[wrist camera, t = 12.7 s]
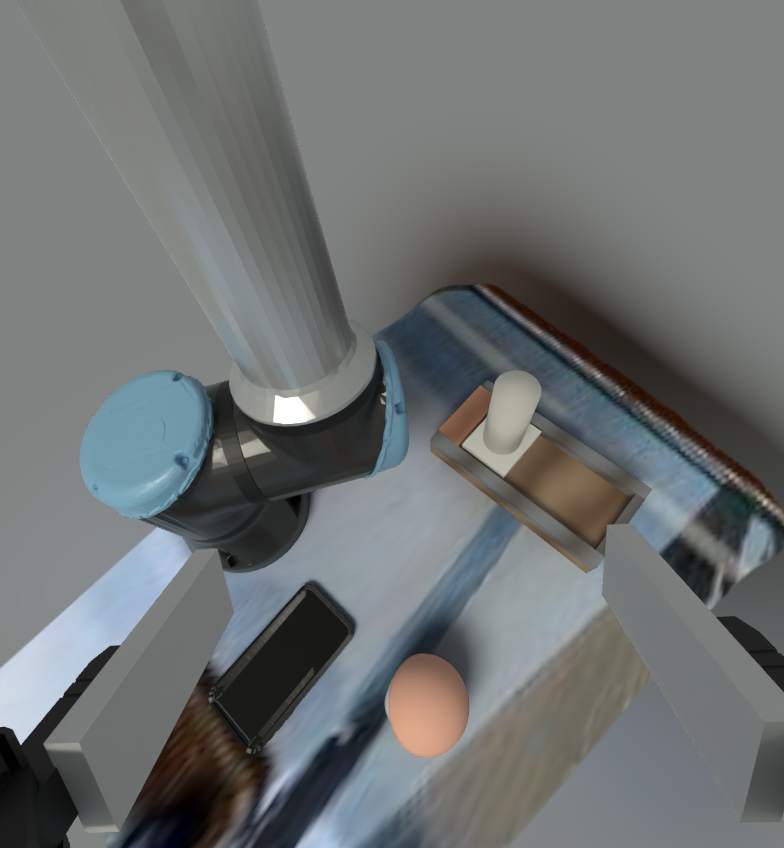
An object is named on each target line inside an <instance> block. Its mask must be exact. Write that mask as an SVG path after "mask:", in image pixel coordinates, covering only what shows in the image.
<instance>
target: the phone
mask: <svg viewBox="0 0 784 848" xmlns="http://www.w3.org/2000/svg"><path fill="white" fill-rule="evenodd" d="M353 636H354V627H353V625H352V624H351V622H350V621H349V620H348V619H347V618H346V617H345V616H344V615H343V614H342V613H341V612H340V611H339V610H338V609H337V608H336V607H335V606H334V605H333V604H332V603H331V602H330V601H329V600H328V599H327V598H326V597H325V596H324V595H323V594H322V593H321V592H320V591H319V590H318V589H317V588H316V587H315V586H313V585H305V586H303V587H302V588H301V589H300V590H299V591H298V592H297V593H296V594H295V595H294V596H293V598H292V599H291V600H290V601H289V602H288V603H287V604H286V605H285V606H284V608H283V609H282V610H281V611H280V612H279V613H278V614H277V615H276V617H275V618H274V619H273V620H272V621H271V622H270V623H269V624H268V626H267V627H266V628H265V629H264V630H263V631H262V632H261V633H260V634H259V636H258V637H257V638H256V639H255V640H254V641H253V642H252V643H251V645H250V646H249V647H248V648H247V649H246V650H245V651H244V652H243V653H242V655H241V656H240V657H239V658H238V659H237V660H236V661H235V662H234V664H233V665H232V666H231V667H230V668H229V669H228V670H227V671H226V672H225V674H224V675H223V676H222V677H221V678H220V679H219V680H218V681H217V683H216V684H215V685H214V686H213V687H212V689H211V690H210V693H209V703H210V705H211V706H212V707H213V709H214V710H215V712H216V713H217V714H218V716H219V717H220V718H221V720H222V721H223V722H224V724H225V725H226V726H227V728H228V729H229V730H230V732H231V733H232V734H233V736H234V737H235V738H236V740H237V741H238V742H239V744H240V745H241V746H242V748H243V749H244V750H245V751H246V752H247V753H250V754H251V753H256V752H258V751H259V750H261V749H262V748H263V747H264V746H265V744H266V743H267V742H268V741H269V740H270V739H271V738H272V737H273V736H274V733H275V732H276V731H278V730H279V729H280V727H281V726H282V725H283V724H284V722H285V720H287V719H288V718H289V717H290V715H291V714H292V713H293V710H294V709H295V708H296V707H297V705H298V704H299V703H300V702H301V701H302V699H303V698H304V697H305V696H306V695H307V693H308V692H309V691H310V690H311V688H312V687H313V686H314V685H315V684H316V682H317V681H318V680H319V679H320V677H321V676H322V675H323V674H324V673H325V671H326V670H327V669H328V668H329V667H330V665H331V664H332V663H333V662H334V660H335V659H336V658H337V657H338V656H339V654H340V653H341V652H342V651H343V649H344V648H345V647H346V646H347V645H348V643H349V642H350V641H351V640H352V638H353Z"/></svg>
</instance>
